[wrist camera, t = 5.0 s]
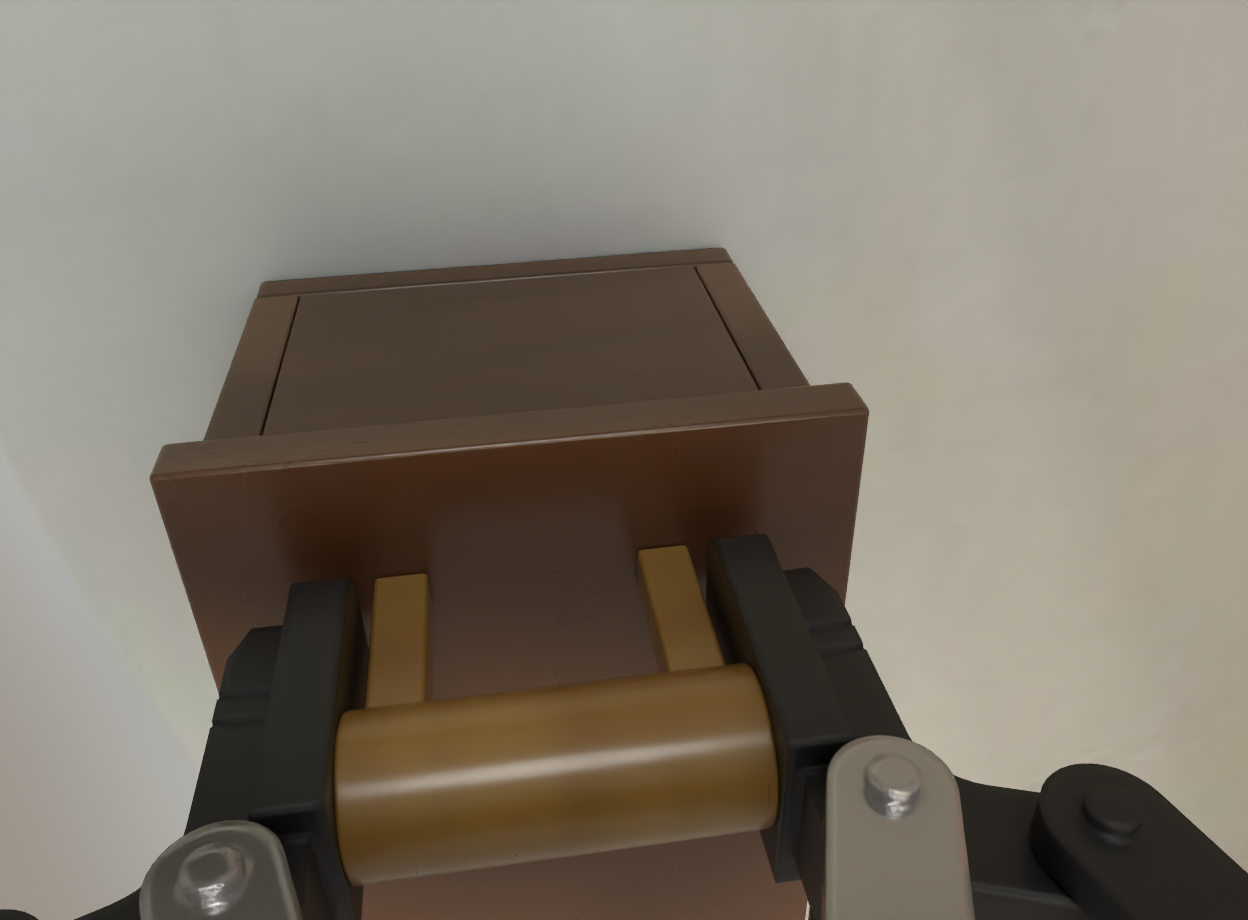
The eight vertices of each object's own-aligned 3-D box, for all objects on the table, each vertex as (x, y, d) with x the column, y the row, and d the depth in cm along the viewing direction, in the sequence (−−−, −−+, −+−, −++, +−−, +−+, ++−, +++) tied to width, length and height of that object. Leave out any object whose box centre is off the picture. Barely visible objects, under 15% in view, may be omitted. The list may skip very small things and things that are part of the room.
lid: (161, 442, 13) (31, 746, 9) (851, 380, 14) (1022, 626, 10) (349, 1051, 21) (327, 1363, 17) (782, 983, 22) (862, 1261, 18)
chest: (260, 280, 20) (179, 498, 14) (725, 245, 21) (844, 435, 15) (370, 766, 27) (349, 1049, 21) (708, 723, 28) (781, 981, 22)
